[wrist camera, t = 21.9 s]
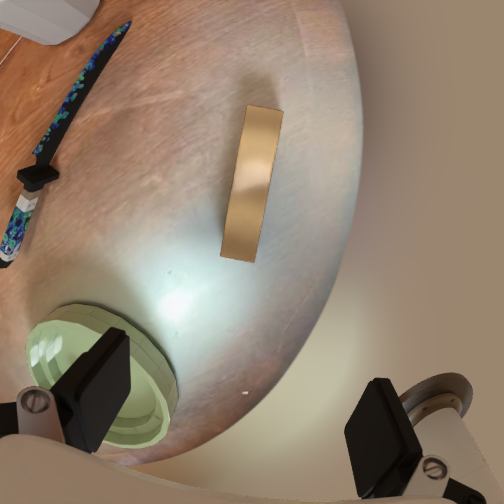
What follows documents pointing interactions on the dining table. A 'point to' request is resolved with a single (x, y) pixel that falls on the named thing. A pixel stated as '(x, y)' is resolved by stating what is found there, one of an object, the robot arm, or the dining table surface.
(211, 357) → the dining table surface
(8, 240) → the knife
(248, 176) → the stick
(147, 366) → the shallow round dish
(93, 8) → the jar
